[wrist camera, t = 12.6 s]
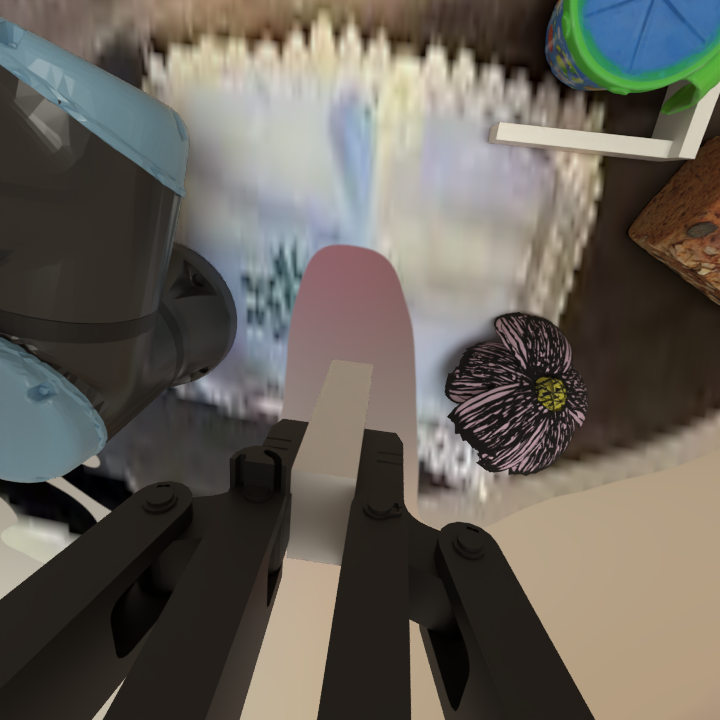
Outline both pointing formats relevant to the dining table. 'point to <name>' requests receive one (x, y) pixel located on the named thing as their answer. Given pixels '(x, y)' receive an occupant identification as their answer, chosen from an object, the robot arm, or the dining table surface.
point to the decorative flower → (518, 396)
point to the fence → (667, 143)
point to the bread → (687, 222)
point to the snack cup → (637, 46)
